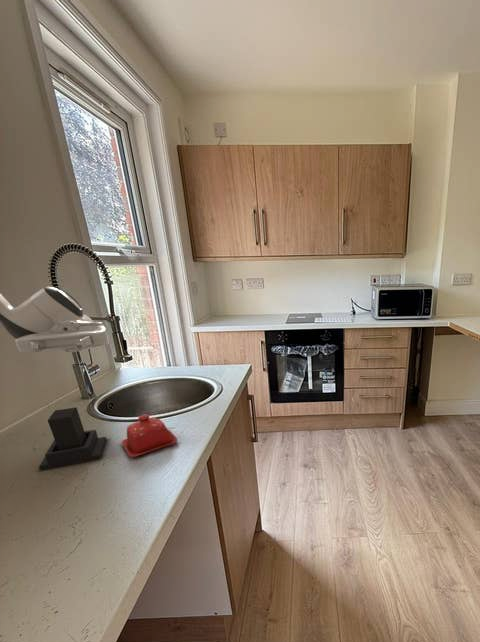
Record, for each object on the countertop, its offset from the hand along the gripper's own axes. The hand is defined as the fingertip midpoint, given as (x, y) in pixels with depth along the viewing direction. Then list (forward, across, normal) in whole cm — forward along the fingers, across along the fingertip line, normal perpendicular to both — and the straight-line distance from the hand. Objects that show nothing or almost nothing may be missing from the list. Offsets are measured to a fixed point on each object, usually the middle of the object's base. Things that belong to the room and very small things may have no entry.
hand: (57, 346), depth 87 cm
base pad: (+12, 0, +25) cm, 28 cm away
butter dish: (+14, +17, +25) cm, 34 cm away
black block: (+12, 0, +23) cm, 26 cm away
